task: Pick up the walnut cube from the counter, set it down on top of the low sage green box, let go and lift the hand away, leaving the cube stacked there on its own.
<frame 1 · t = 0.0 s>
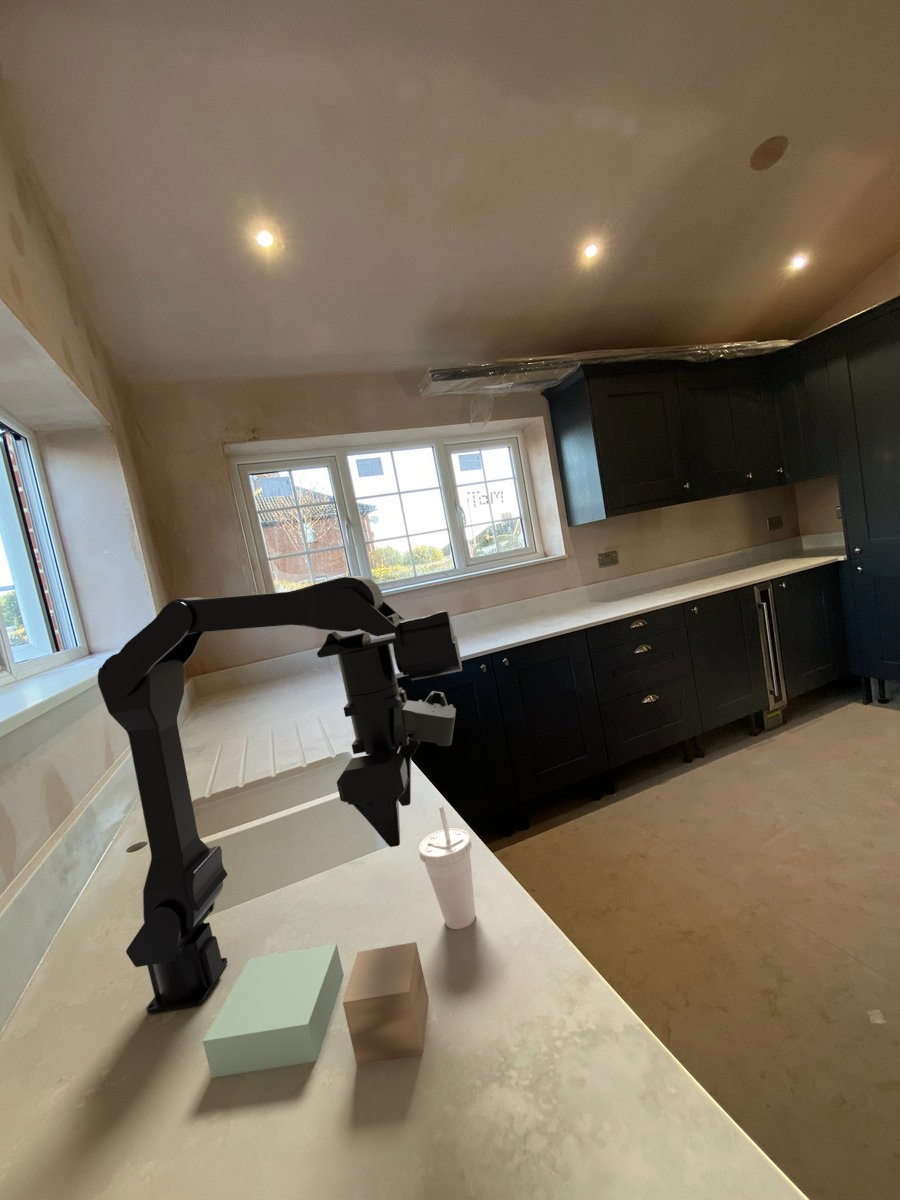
hand: (401, 823, 58), 15 cm above the worktop, tool pointing down, fingers open, 9 cm apart
sage box: (284, 1025, 52), on the worktop
walnut cube: (394, 1030, 49), on the worktop
smoothie: (460, 919, 62), on the worktop
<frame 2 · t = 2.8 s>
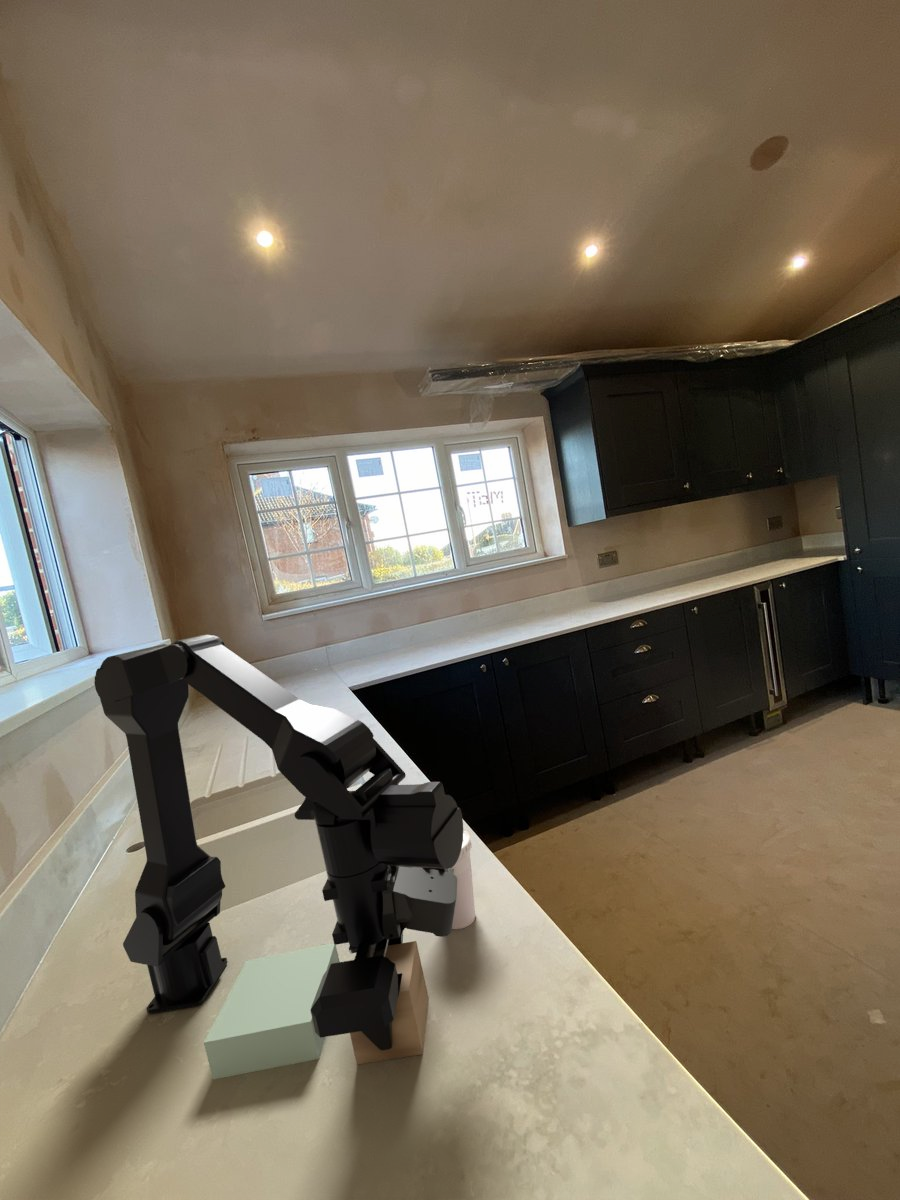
hand: (392, 1016, 49), 1 cm above the worktop, tool pointing down, fingers closed on walnut cube, 6 cm apart
walnut cube: (394, 1029, 49), on the worktop, touching gripper
everything else where it was.
when the fingers open (6 cm above the worktop, at t = 7.6 s): walnut cube drops 1 cm, point 4 cm above the worktop.
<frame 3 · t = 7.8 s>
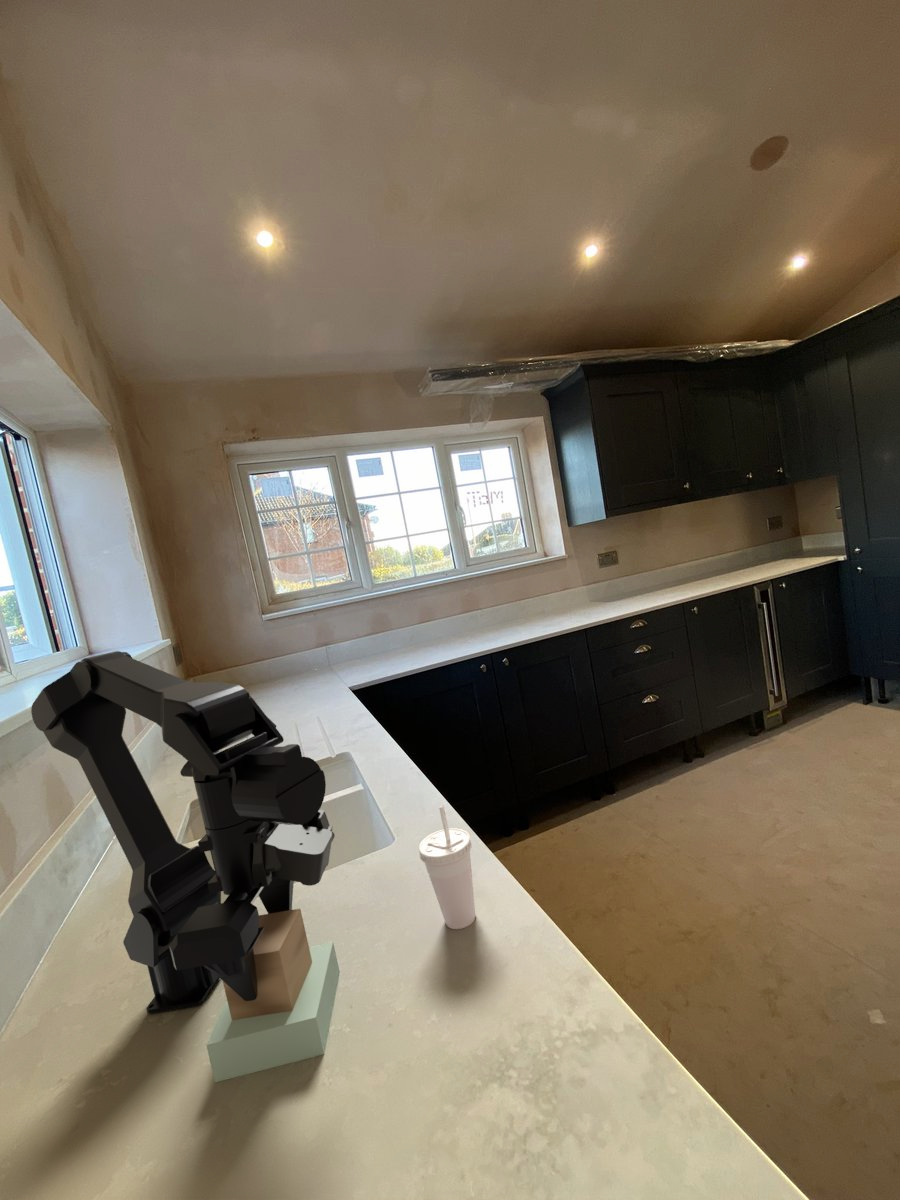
hand: (270, 963, 52), 6 cm above the worktop, tool pointing down, fingers open, 8 cm apart
walnut cube: (274, 989, 52), point 4 cm above the worktop
everything else where it was.
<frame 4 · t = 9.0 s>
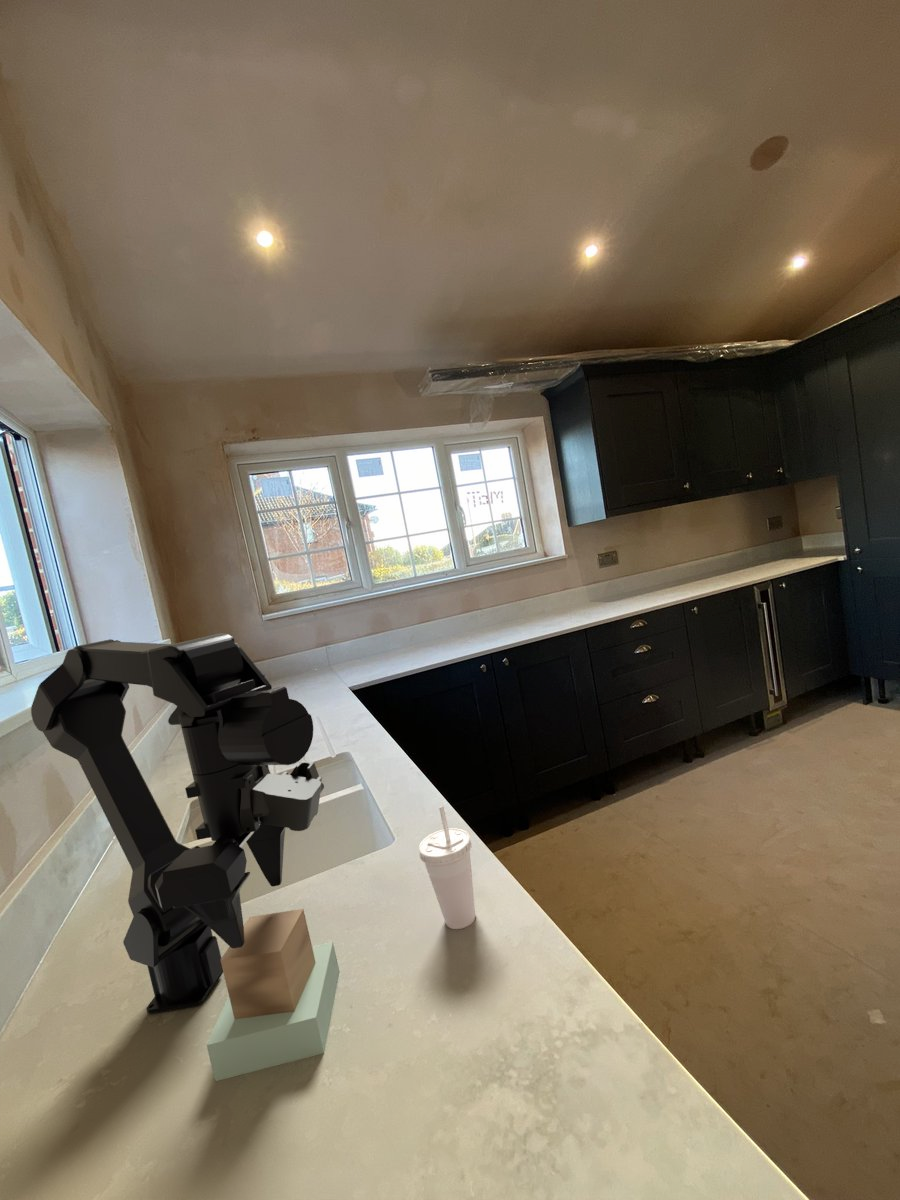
hand: (259, 913, 52), 12 cm above the worktop, tool pointing down, fingers open, 9 cm apart
sage box: (284, 1025, 52), on the worktop, touching walnut cube
walnut cube: (277, 989, 52), point 4 cm above the worktop, touching sage box
everything else where it was.
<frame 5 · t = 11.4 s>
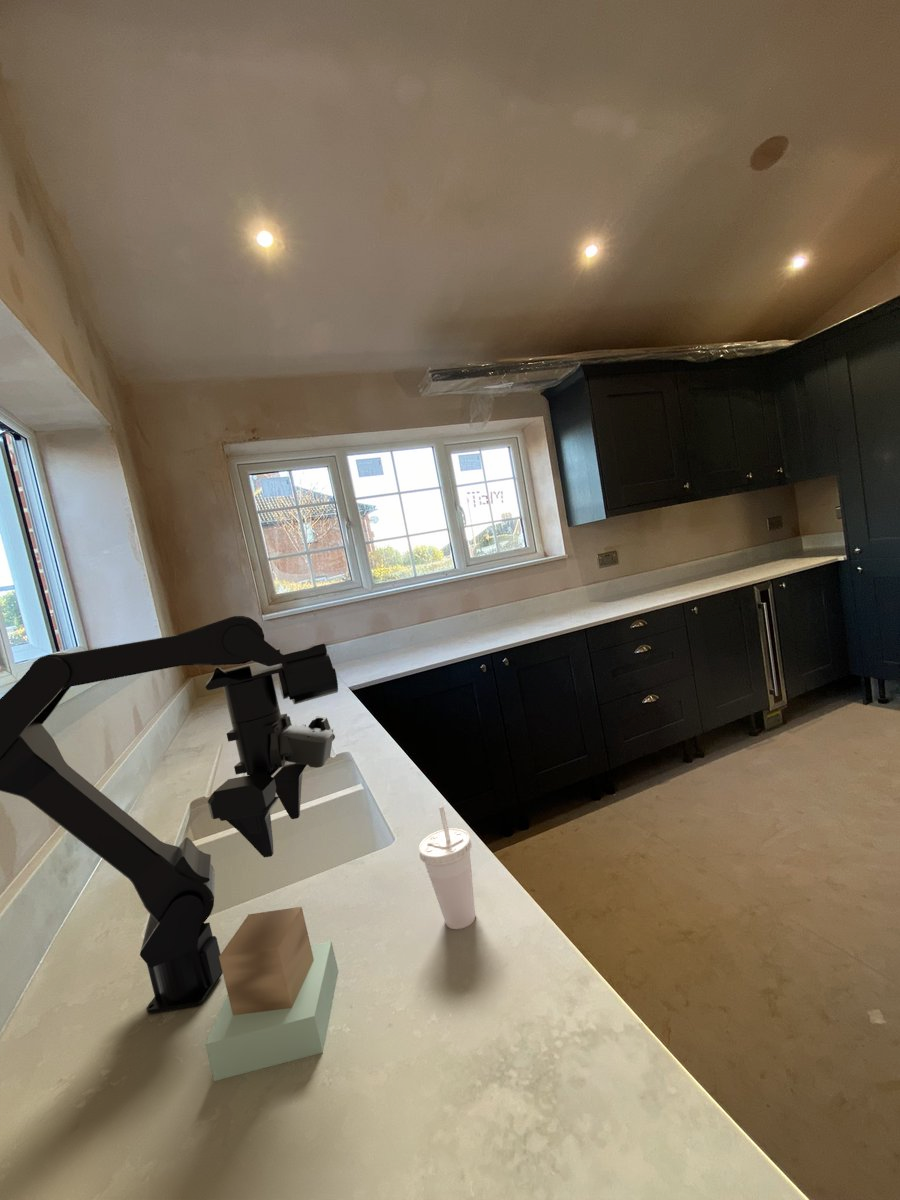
hand: (283, 835, 65), 13 cm above the worktop, tool pointing down, fingers open, 9 cm apart
nothing on the worktop moved.
at the end: walnut cube 0.1 cm off-centre on the sage box, point 4.0 cm above the sage box's base; walnut cube tilted 0°; the gripper is holding nothing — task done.
